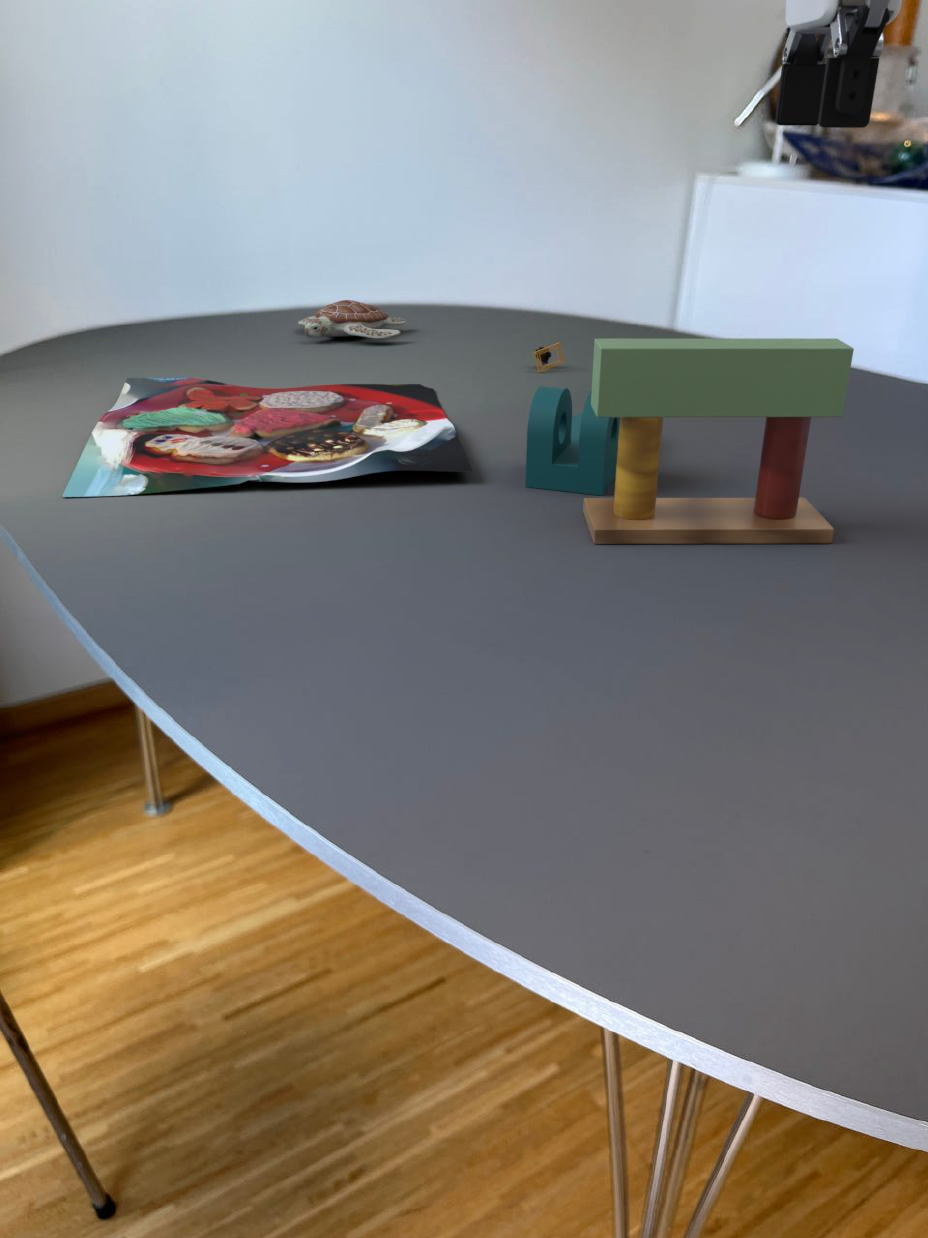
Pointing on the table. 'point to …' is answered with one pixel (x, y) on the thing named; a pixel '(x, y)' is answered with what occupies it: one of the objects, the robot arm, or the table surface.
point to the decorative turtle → (350, 321)
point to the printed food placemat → (261, 436)
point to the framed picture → (547, 356)
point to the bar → (720, 377)
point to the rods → (707, 519)
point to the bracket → (569, 445)
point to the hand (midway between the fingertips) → (818, 125)
